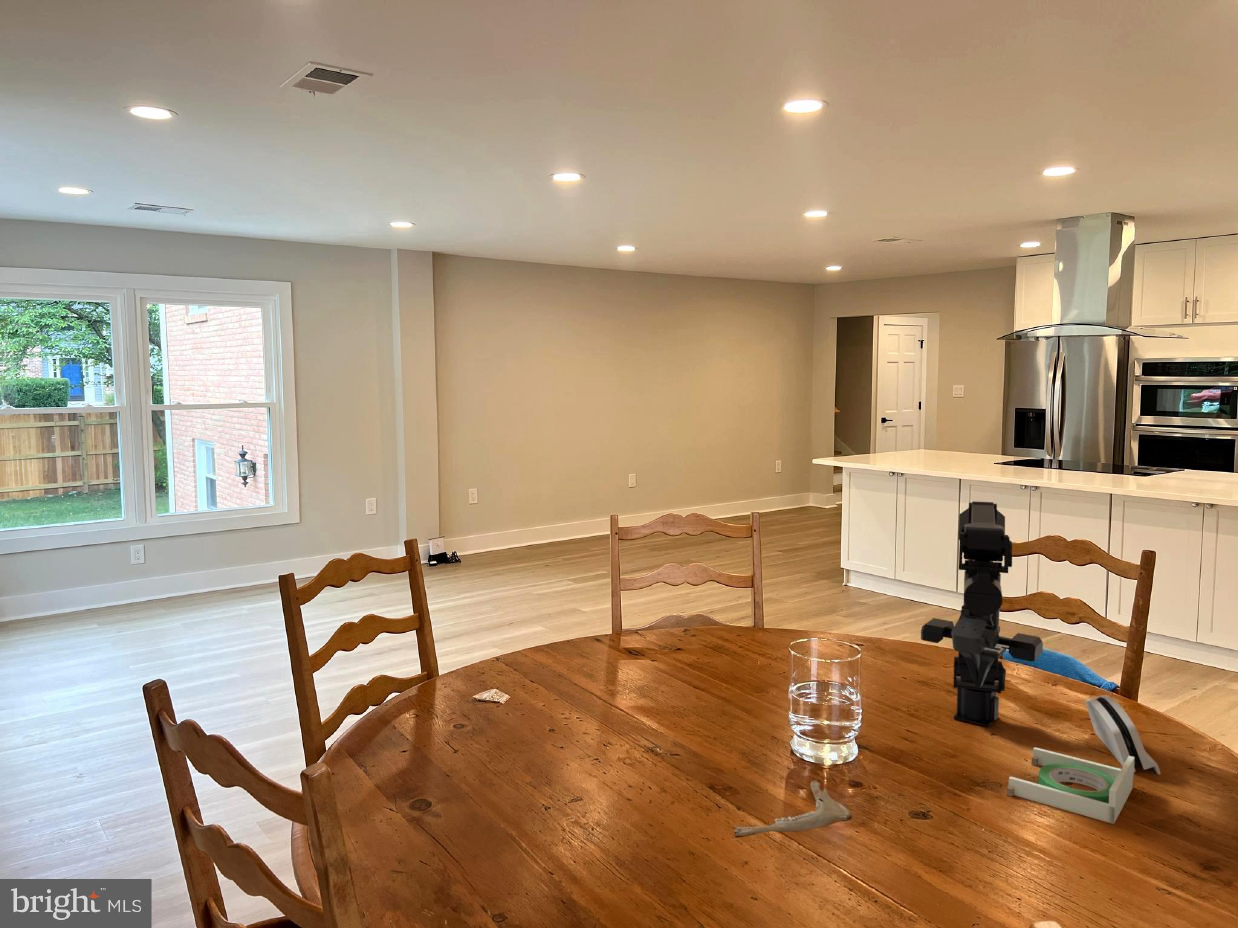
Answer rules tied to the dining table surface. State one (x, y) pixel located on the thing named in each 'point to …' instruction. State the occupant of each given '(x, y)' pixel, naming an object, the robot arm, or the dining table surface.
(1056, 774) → the tape roll
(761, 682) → the dining table surface
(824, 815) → the jawbone
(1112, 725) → the white curved piece
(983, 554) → the robot arm
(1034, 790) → the frame
